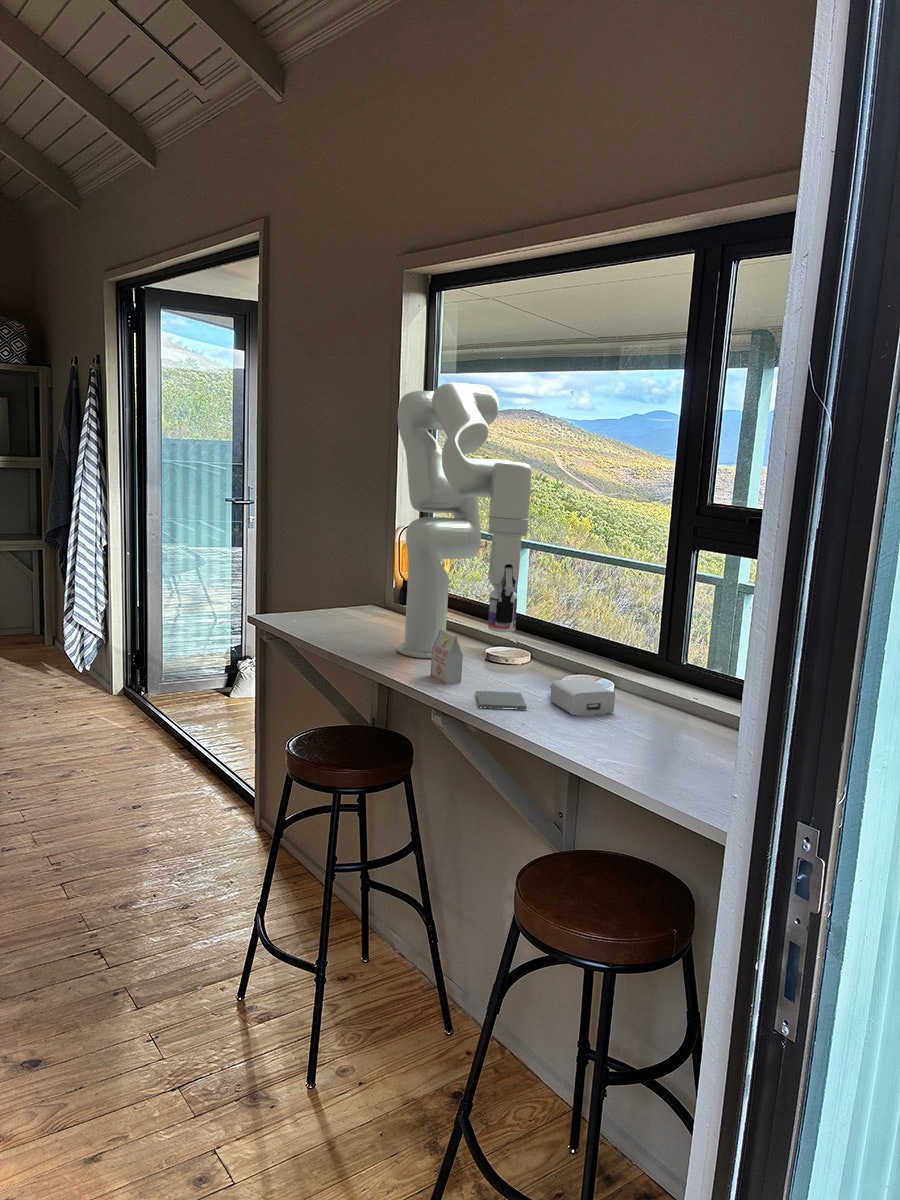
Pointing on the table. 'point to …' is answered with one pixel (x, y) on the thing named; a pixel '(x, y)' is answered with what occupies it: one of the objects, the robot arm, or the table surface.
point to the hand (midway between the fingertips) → (502, 618)
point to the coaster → (500, 699)
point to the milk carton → (446, 659)
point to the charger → (582, 697)
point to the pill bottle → (492, 613)
